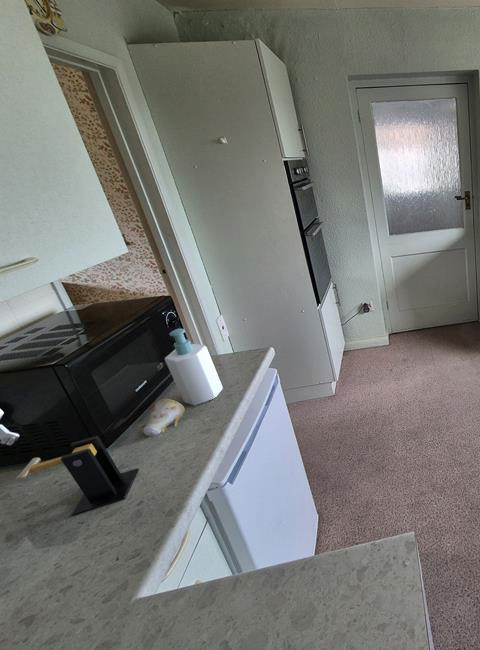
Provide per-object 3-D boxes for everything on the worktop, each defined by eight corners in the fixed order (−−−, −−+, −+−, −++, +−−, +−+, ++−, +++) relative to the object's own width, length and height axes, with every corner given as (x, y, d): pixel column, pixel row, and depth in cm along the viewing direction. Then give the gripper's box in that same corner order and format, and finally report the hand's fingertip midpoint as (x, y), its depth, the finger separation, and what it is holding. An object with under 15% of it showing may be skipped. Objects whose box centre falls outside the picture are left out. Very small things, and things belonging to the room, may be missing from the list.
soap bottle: (221, 382, 122) (197, 320, 113) (224, 395, 115) (198, 331, 106) (184, 395, 117) (155, 331, 108) (184, 410, 110) (153, 343, 101)
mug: (137, 443, 99) (132, 404, 100) (174, 432, 108) (169, 397, 109) (157, 439, 97) (152, 400, 98) (194, 429, 106) (189, 393, 107)
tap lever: (19, 485, 74) (12, 476, 73) (35, 465, 79) (28, 457, 78) (89, 464, 77) (83, 455, 76) (100, 446, 82) (95, 438, 81)
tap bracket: (75, 519, 78) (39, 470, 73) (94, 487, 86) (63, 440, 80) (127, 502, 81) (97, 454, 76) (141, 472, 89) (114, 426, 83)
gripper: (-159, 461, 56) (-32, 485, 63) (-51, 387, 74) (39, 412, 81) (-179, 493, 57) (-51, 513, 64) (-67, 411, 74) (24, 434, 81)
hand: (0, 456), depth 73 cm, fingers open, 8 cm apart
